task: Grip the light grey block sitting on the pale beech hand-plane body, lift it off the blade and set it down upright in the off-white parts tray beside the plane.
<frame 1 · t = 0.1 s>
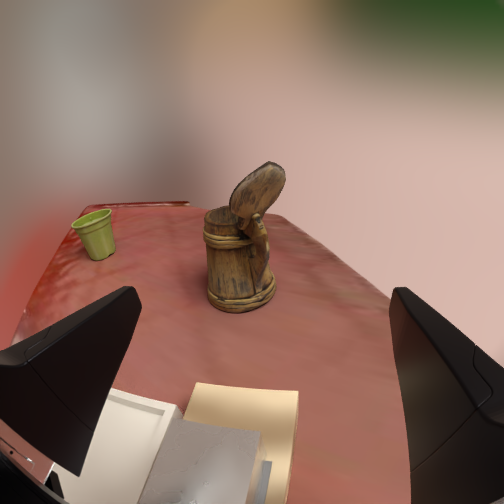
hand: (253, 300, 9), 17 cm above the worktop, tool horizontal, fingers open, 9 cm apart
parts tray: (85, 463, 16), on the worktop
plant pot: (103, 254, 54), on the worktop
wooden mug: (251, 300, 36), on the worktop
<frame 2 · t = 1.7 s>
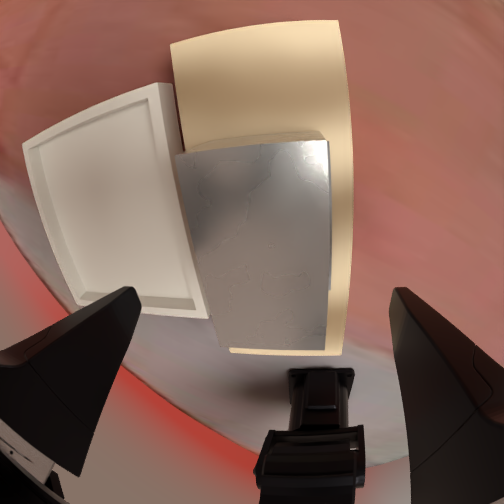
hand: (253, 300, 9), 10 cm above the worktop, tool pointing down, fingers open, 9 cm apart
parts tray: (111, 213, 20), on the worktop
light grey block: (273, 225, 14), point 4 cm above the worktop, touching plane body
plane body: (280, 198, 18), on the worktop
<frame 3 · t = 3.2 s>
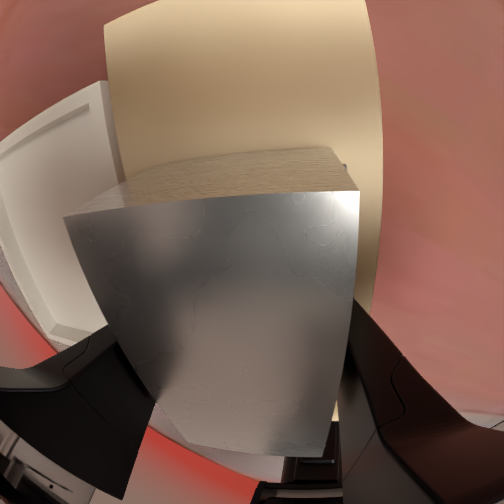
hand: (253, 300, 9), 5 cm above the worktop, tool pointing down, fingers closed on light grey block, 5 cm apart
parts tray: (69, 244, 16), on the worktop
light grey block: (256, 290, 9), point 4 cm above the worktop, touching gripper, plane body
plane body: (271, 235, 13), on the worktop
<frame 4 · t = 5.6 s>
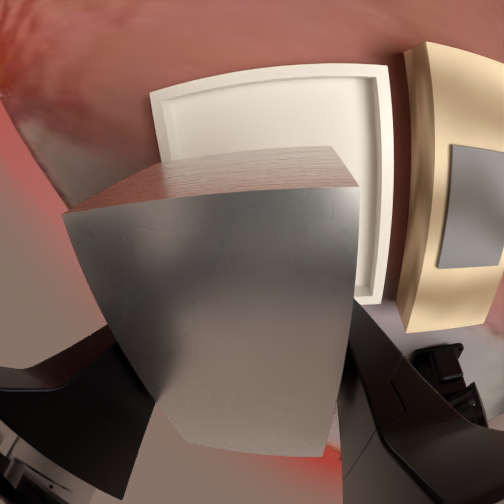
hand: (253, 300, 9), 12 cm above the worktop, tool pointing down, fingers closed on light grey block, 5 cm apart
parts tray: (280, 192, 19), on the worktop
light grey block: (256, 289, 9), point 12 cm above the worktop, touching gripper
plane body: (454, 191, 16), on the worktop
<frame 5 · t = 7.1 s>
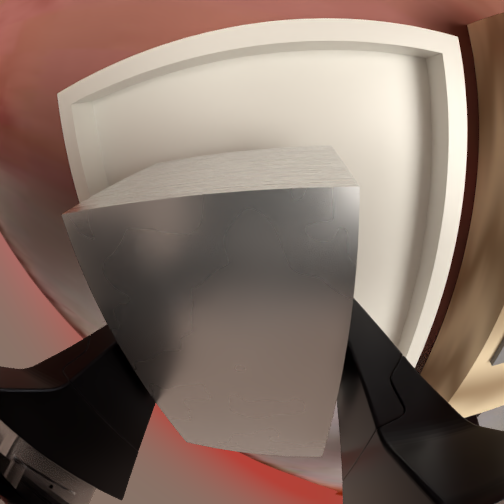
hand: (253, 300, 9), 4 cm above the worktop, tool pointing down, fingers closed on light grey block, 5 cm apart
parts tray: (266, 245, 12), on the worktop
light grey block: (256, 289, 9), point 3 cm above the worktop, touching gripper
when the fingers open (3 cm above the worktop, at t = 8.1 s): light grey block drops 2 cm, resting on parts tray.
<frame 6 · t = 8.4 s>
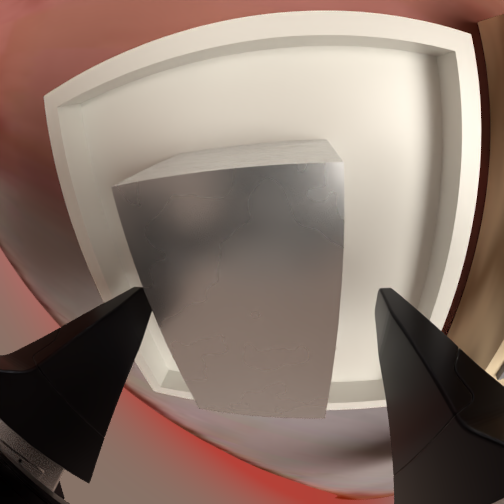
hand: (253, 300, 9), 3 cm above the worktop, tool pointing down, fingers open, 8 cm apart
parts tray: (265, 256, 11), on the worktop
light grey block: (263, 263, 11), point 1 cm above the worktop, touching parts tray
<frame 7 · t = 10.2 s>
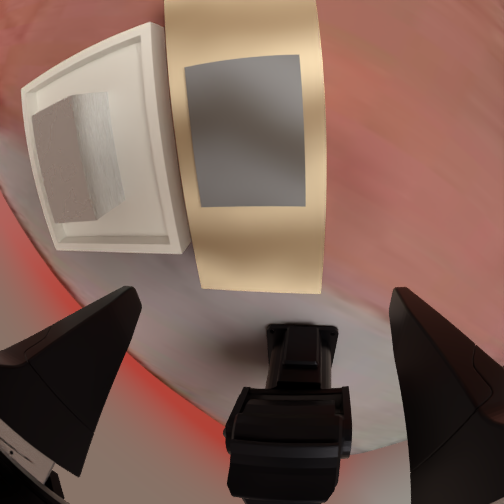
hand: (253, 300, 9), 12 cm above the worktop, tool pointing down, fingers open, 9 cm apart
parts tray: (96, 150, 19), on the worktop
light grey block: (92, 151, 19), point 1 cm above the worktop, touching parts tray
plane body: (258, 126, 17), on the worktop
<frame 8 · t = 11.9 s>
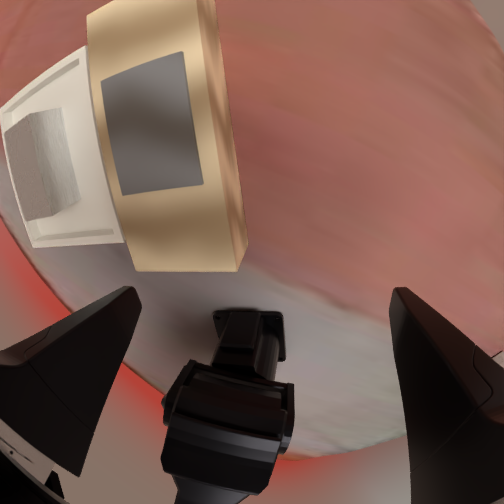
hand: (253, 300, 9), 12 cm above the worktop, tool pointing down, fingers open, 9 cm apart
parts tray: (58, 158, 21), on the worktop
light grey block: (54, 159, 20), point 1 cm above the worktop, touching parts tray
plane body: (176, 121, 18), on the worktop
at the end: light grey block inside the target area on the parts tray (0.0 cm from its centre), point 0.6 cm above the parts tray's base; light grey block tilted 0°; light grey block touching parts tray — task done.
